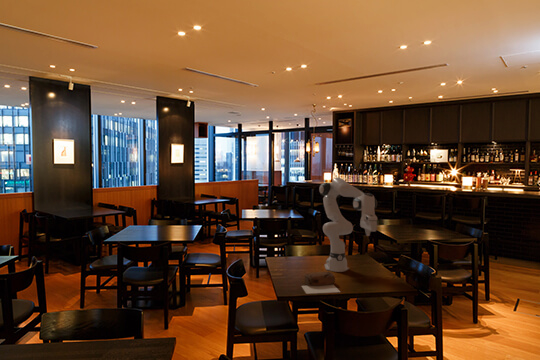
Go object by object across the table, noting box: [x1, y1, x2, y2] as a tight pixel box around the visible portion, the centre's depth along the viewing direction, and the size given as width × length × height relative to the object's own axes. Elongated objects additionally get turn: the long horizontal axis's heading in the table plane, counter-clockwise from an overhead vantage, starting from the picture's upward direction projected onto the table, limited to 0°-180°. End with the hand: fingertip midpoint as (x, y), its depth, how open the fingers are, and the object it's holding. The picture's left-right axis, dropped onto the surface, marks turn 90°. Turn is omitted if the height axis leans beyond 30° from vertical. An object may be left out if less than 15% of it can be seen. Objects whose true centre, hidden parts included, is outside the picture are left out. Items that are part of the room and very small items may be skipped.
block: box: [303, 271, 336, 286], centre depth 244 cm, size 11×8×20 cm
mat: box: [301, 283, 341, 295], centre depth 234 cm, size 15×23×1 cm, turn 98°
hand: (367, 235), depth 246 cm, fingers closed
